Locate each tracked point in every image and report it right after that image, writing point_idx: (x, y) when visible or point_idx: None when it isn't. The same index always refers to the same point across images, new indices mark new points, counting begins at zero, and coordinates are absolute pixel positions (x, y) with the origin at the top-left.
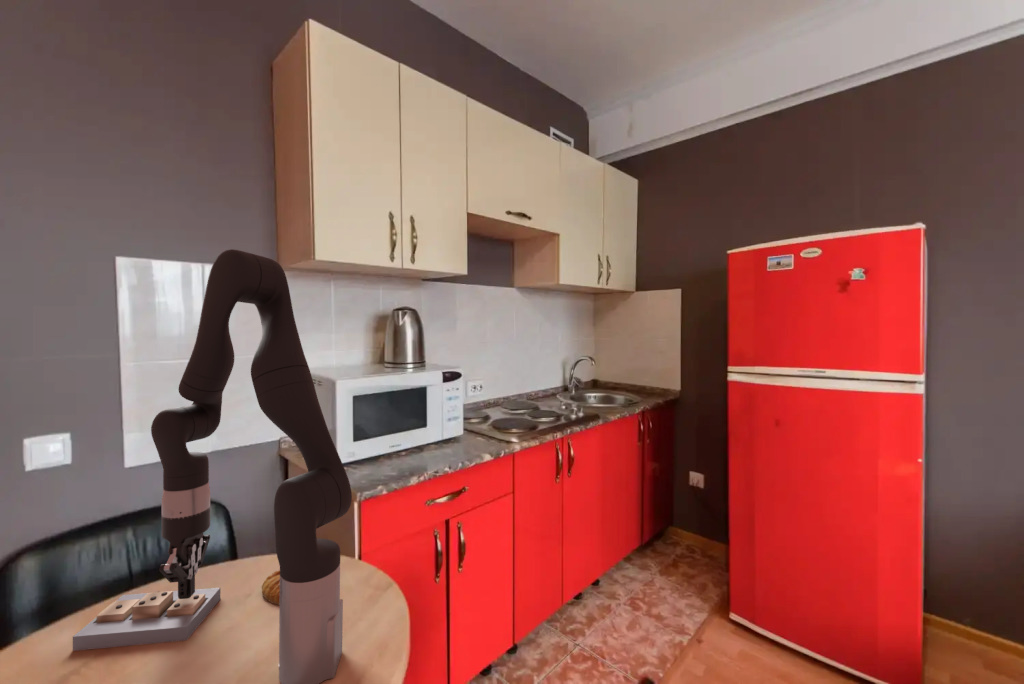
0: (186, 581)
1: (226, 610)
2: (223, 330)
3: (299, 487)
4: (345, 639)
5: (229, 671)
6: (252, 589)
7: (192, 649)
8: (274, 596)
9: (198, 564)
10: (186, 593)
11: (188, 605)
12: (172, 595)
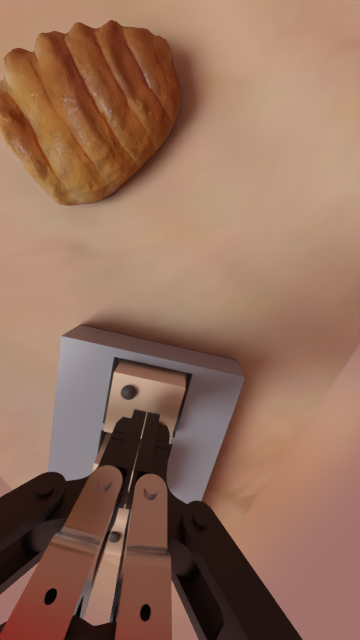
0: (165, 483)
1: (141, 297)
2: None
3: None
4: None
5: None
6: (47, 243)
7: (278, 340)
8: (151, 141)
9: (62, 498)
10: (169, 437)
11: (167, 401)
12: (101, 452)
